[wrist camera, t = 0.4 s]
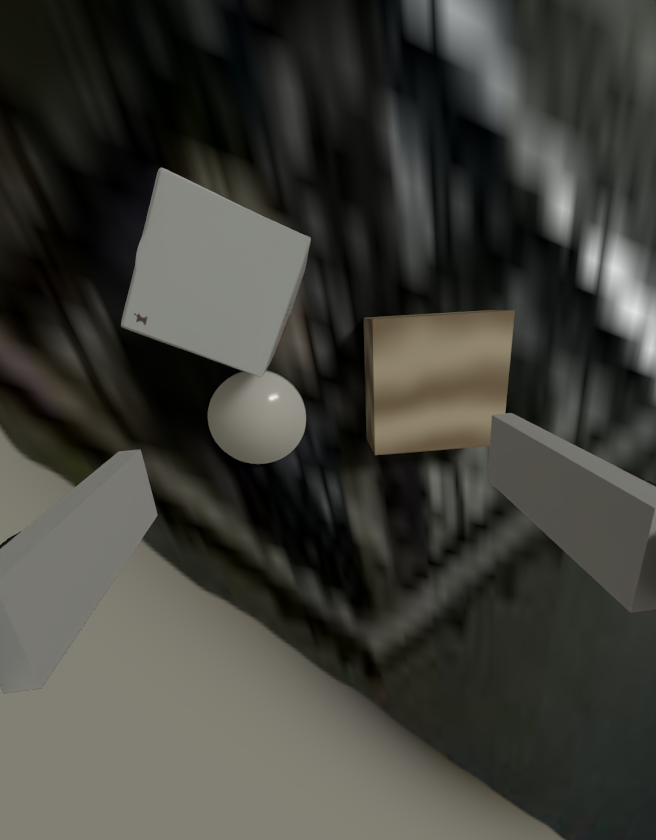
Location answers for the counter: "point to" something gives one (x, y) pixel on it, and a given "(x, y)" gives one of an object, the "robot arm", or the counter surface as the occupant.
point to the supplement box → (213, 276)
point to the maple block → (435, 379)
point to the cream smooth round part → (257, 417)
